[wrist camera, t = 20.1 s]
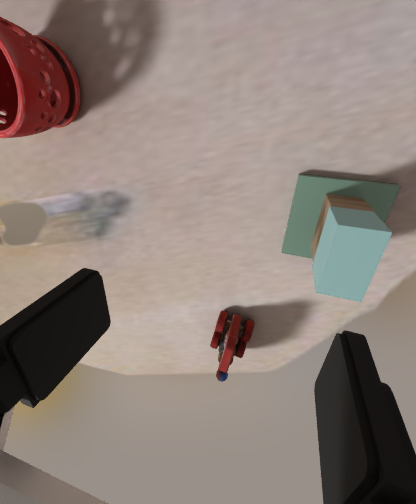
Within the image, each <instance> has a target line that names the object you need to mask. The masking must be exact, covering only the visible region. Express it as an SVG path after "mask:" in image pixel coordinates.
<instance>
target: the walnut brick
mask: <svg viewBox="0 0 416 504" xmlns="http://www.w3.org/2000/svg"><path fill="white" fill-rule="evenodd" d="M330 206H332V207H340V208H348V209H356V210H364V211H372V212H374V213H376V212H375V211H374V210H373V209H372V208H371V207H370V206H369V205H368V203H367V202H366V201H365V200H364V199H363V198H358V197H350V196H341V195H333V194H325V198H324V201H323V205H322V208H321V212H320V215H319V219H318V222H317V226H316V229H315V233H314V236H313V240H312V243H311V251H312V258H313V261H314V257H315V254H316V251H317V247H318V244H319V240H320V237H321V234H322V230H323V227H324V223H325V220H326V217H327V213H328V210H329V207H330Z"/></svg>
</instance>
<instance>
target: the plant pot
mask: <svg viewBox="0 0 416 504" xmlns="http://www.w3.org/2000/svg"><path fill="white" fill-rule="evenodd" d="M80 97H81V96H80V87H79V82H78V78H77V75H76V73H75V71H74V68H73V66H72V64H71V63H70V61H69V60H68V58H67V57H66V55H65V54H64V53H63V51H62V50H61V49H60V48H59V47H58V46H56V45H55V44H54V43H53V42H51V41H50V40H48V39H46V38H44V37H41V36H36V35H32V34H30V33H29V32H27V31H26V30H24V29H23V28H21V27H19V26H17V25H15V24H14V23H12V22H10V21H8V20H6V19H4V18H2V17H0V111H2V112H4V113H5V114H6V115H5V116H4V115H1V114H0V120H2V121H4V122H5V124H3V123H0V138H13V137H22V136H29V135H33V134H37V133H41V132H44V131H46V130H48V129H50V128H52V127H55V128H59V127H64V126H67V125H68V124H70V123H71V122H72V121H73V120H74V118H75V117H76V115H77V113H78V111H79V107H80Z"/></svg>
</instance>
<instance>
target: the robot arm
mask: <svg viewBox="0 0 416 504" xmlns="http://www.w3.org/2000/svg"><path fill="white" fill-rule="evenodd" d="M110 322H111V321H110V315H109V310H108V305H107V300H106V295H105V290H104V285H103V280H102V276H101V275H100V274H99V272H98V271H95V270H91V269H87V268H83V269H81V270H80V271H78V272H77V273H75V274H74V275H72V276H71V277H70V278H68V279H67V280H65V281H64V282H62V283H61V284H59V285H58V286H57V287H55V288H54V289H52V290H51V291H49V292H48V293H46V294H45V295H44V296H42V297H41V298H39V299H38V300H36V301H35V302H33V303H32V304H31V305H29V306H28V307H26V308H25V309H23V310H22V311H20V312H19V313H18V314H16V315H15V316H13V317H12V318H10V319H9V320H8V321H6V322H5V323H3V324H2V325H0V504H108V503H106V502H104V501H102V500H100V499H98V498H96V497H94V496H92V495H90V494H88V493H86V492H84V491H82V490H80V489H78V488H76V487H74V486H72V485H70V484H68V483H66V482H64V481H62V480H60V479H58V478H56V477H54V476H52V475H50V474H48V473H46V472H44V471H42V470H40V469H38V468H36V467H34V466H32V465H30V464H28V463H26V462H24V461H22V460H20V459H18V458H16V457H14V456H11V455H10V454H8V453H6V452H4V451H3V450H4V446H5V442H6V437H7V434H8V430H9V426H10V421H11V418H12V414H13V410H14V406H15V405H16V404H17V403H18V402H19V401H21V402H22V403H23V404H25V405H27V406H30V407H32V408H34V407H35V406H36V405H37V404H38V403H39V401H40V400H44V399H45V398H46V397H47V396H48V395H49V394H50V393H51V392H52V391H53V390H54V389H55V388H56V386H57V385H58V384H59V383H60V382H61V381H62V380H63V379H64V377H65V376H66V375H67V374H68V373H69V372H70V371H71V370H72V369H73V367H74V366H75V365H76V364H77V363H78V362H79V361H80V360H81V359H82V357H83V356H84V355H85V354H86V353H87V352H88V351H89V350H90V348H91V347H92V346H93V345H94V344H95V343H96V342H97V341H98V340H99V338H100V337H101V336H102V335H103V334H104V333H105V332H106V331H107V329H108V328H109V326H110ZM315 404H316V416H317V429H318V441H319V453H320V466H321V477H322V490H323V503H324V504H416V454H415V451H414V449H413V446H412V443H411V440H410V438H409V435H408V433H407V430H406V427H405V424H404V422H403V419H402V416H401V414H400V411H399V408H398V405H397V403H396V400H395V397H394V395H393V392H392V391H391V388H390V387H389V386H388V385H387V384H385V383H382V382H381V381H380V378H379V375H378V372H377V369H376V366H375V363H374V361H373V358H372V355H371V352H370V349H369V346H368V343H367V340H366V338H365V336H364V335H362V334H358V333H353V332H349V331H343V332H342V334H339V333H337V334H336V336H335V338H334V340H333V342H332V345H331V347H330V350H329V352H328V354H327V356H326V359H325V361H324V363H323V366H322V368H321V370H320V373H319V375H318V377H317V380H316V382H315Z"/></svg>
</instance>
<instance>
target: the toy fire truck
mask: <svg viewBox="0 0 416 504" xmlns="http://www.w3.org/2000/svg"><path fill="white" fill-rule="evenodd" d="M227 317H228V312H225V311H221V312H220V315H219V318H218V321H217V325H216V329H215V332H214V335H213V338H212V341H211V345H210V346H211V347H212V348H215V349H217V347H218V346H219V355H218V361H219V363H220V364H219V368H218V371H217V374H216V377H217V379H218V380H219V381H225V380H226V379H227V376H228V373H227V371H228V368H229V365H231V364H232V362H233V357H234V356H236V357H239V358H242V357H243V354H244V351H245V348H246V344H247V342H249V341H250V339H251V336H252V332H253V328H254V322H253V321H250V320H247V321H246V323H245V326H241V325H240V322H241V316H240V315H236V314H234V315H233V318H232V321H231V322H229V321H227ZM225 325H226V326H228V327H230V328H229V331H228V332H227V334H226V335H225V334H222V332H223V330H224V327H225ZM239 330H240V331H243V333H242V337H240V338H239V341H238V343H237V340H238V332H239Z"/></svg>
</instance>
